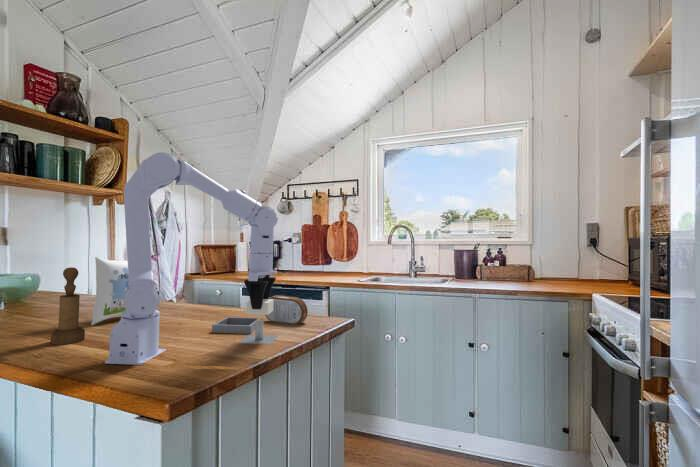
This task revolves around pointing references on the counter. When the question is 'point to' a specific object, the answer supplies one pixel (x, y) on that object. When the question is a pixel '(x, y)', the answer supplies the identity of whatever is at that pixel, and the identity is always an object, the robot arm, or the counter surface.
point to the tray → (235, 325)
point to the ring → (265, 309)
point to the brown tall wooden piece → (68, 313)
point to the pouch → (110, 289)
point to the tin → (288, 310)
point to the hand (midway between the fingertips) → (260, 306)
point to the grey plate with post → (259, 335)
